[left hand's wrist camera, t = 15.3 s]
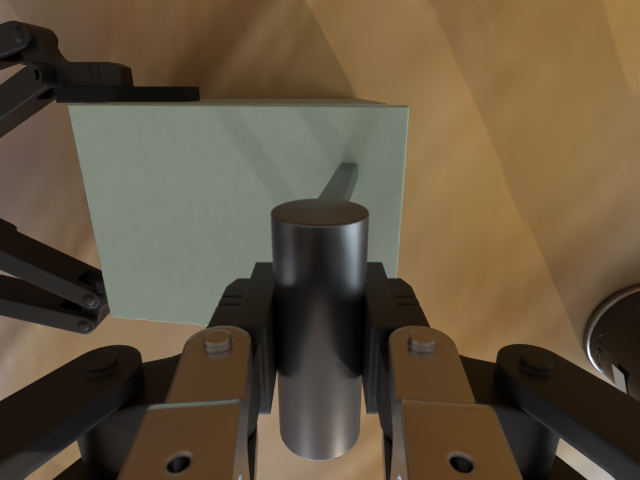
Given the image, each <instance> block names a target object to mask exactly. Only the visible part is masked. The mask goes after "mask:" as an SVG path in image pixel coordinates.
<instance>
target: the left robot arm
mask: <svg viewBox="0 0 640 480" xmlns="http://www.w3.org/2000/svg"><path fill="white" fill-rule="evenodd" d="M583 347H584V352H585V354H586V356H587V358H588V360H589V361H590V362H591V364H592V365H593V366H594V367H596V368H597V369H598V370H599V371H600V372H601V373H603V374H604V375H605V376H606V377H608V378H609V379H610V380H611V381H612V382H613V383H614V384H615V385H616V387H614V386H612V385H610V384H609V383H607V382H605V381H603V380H602V379H600V378H598V377H596V376H594V375H593V374H591V373H589V372H587V371H586V370H584V369H582V368H580V367H579V366H577V365H575V364H573V363H571V362H570V361H568V360H566V359H564V358H563V357H561V356H559V355H557V354H555V353H553V352H551V351H549V350H546V349H544V348H541V347H537V346H533V345H527V344H513V345H508V346H505V347H503V348H501V349H500V350H499V352H498V354H497V359H496V363H493V362H488V361H483V360H478V359H473V358H469V357H465V356H462V355H459V354H458V351H457V348H456V345H455V343H454V342H453V340H452V339H451V338H450V337H449V336H447V335H446V334H444V333H443V332H441V331H439V330H436V329H433V328H430V325H429V323H428V321H427V319H426V317H425V315H424V313H423V310H422V308H421V306H419V302H418V300H417V298H416V295H415V293H414V291H413V289H412V287H411V286H410V285H409V284H407V283H406V282H405V281H403V280H402V279H401V278H387V275H386V272H385V269H384V267H383V264H382V262H367V276H366V294H365V300H364V323H363V347H362V370H361V376H362V383H363V390H364V397H365V404H366V411H367V414H379V419H380V424H381V428H382V430H383V433H382V453H383V474H384V480H587V479H586V478H585V477H583V476H582V475H581V474H580V473H578V472H577V471H576V470H574V469H573V468H572V467H571V466H569V465H568V464H567V463H566V462H564V461H563V460H562V459H560V458H559V457H558V456H557V455H555V454H556V450H557V446H558V443H559V439H560V438H562V439H563V440H564V441H566V442H567V443H568V444H570V445H571V446H572V447H574V448H575V449H576V450H578V451H579V452H581V453H582V454H583V455H585V456H586V457H587V458H589V459H590V460H591V461H593V462H594V463H595V464H597V465H598V466H599V467H601V468H602V469H604V470H605V471H606V472H608V473H609V474H610V475H611V476H612V477H613V478H614V479H615V480H640V284H639V285H635V286H632V287H629V288H626V289H624V290H622V291H620V292H618V293H616V294H615V295H613V296H611V297H610V298H609V299H607V300H606V301H605V302H604V303H603V304H602V305H600V306H599V308H598V309H597V310H596V311H595V312H594V314H593V315H592V316H591V318H590V320H589V322H588V323H587V326H586V328H585V332H584V336H583ZM276 374H277V351H276V329H275V306H274V283H273V262H256V263H255V266H254V269H253V271H252V274H251V277H250V278H237V279H236V280H235V281H233V282H232V283H230V284H229V285H228V286H226V288H225V290H224V293H223V295H222V298H221V299H220V301H219V303H218V306H217V307H216V309H215V311H214V313H213V316H212V318H211V320H210V322H209V324H208V326H207V328H206V329H204V330H201V331H199V332H197V333H196V334H194V335H193V336H191V337H190V338H189V339H188V340H187V342H186V343H185V345H184V348H183V351H182V353H181V354H179V355H176V356H173V357H169V358H165V359H160V360H155V361H150V362H145V363H142V358H141V354H140V352H139V351H138V350H137V349H135V348H134V347H131V346H126V345H111V346H105V347H101V348H98V349H95V350H92V351H89V352H87V353H85V354H83V355H81V356H79V357H77V358H76V359H74V360H72V361H70V362H68V363H67V364H65V365H63V366H61V367H60V368H58V369H56V370H54V371H53V372H51V373H49V374H47V375H46V376H44V377H42V378H40V379H38V380H37V381H35V382H33V383H31V384H30V385H28V386H26V387H24V388H23V389H21V390H19V391H17V392H15V393H14V394H12V395H10V396H8V397H7V398H5V399H3V400H1V401H0V480H24V479H25V478H26V477H27V476H28V475H30V474H31V473H32V472H34V471H35V470H36V469H38V468H39V467H41V466H42V465H43V464H45V463H46V462H47V461H49V460H50V459H51V458H53V457H54V456H55V455H57V454H58V453H59V452H61V451H62V450H64V449H65V448H66V447H68V446H69V445H70V444H72V443H73V442H74V441H76V440H77V442H78V446H79V449H80V453H81V458H80V459H78V460H77V461H76V462H74V463H73V464H72V465H71V466H69V467H68V468H67V469H66V470H64V471H63V472H62V473H60V474H59V475H58V476H57V477H55V478H54V479H53V480H256V474H257V453H258V432H257V419H258V414H270V413H271V407H272V400H273V393H274V387H275V380H276Z"/></svg>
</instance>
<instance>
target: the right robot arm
mask: <svg viewBox="0 0 640 480" xmlns="http://www.w3.org/2000/svg"><path fill="white" fill-rule="evenodd" d="M19 63H21V65H27V66H26V67H24V68H23V69H22V70H20V71H19V72H18V73H16V74H15V75H13V76H12V77H11V78H9V79H8V80H7V81H5V82H4V83H3V84H1V85H0V138H1V137H2V136H4V135H5V134H7V133H8V132H10V131H11V130H12V129H14V128H15V127H17V126H18V125H19V124H21V123H22V122H24V121H25V120H27V119H28V118H29V117H31V116H32V115H34V114H35V113H37V112H38V111H39V110H41V109H42V108H44V107H45V106H46V105H48V104H49V103H51V102H52V101H54V100H55V99H56V102H57V103H105V102H190V101H200V96H199V87H134V86H133V79H132V73H131V68H130V67H127V66H125V65H122V64H118V63H110V62H69V61H67V60H66V59H65V58H64V57H63V56H62V54H61V53H60V51H59V49H58V39H57V36H56V35H55V33H54V32H53V31H51V30H50V29H47V28H44V27H39V26H35V25H31V24H27V23H22V22H18V21H9V22H6V23H3V24H0V70H2V69H5V68H8V67H11V66H14V65H16V64H19ZM0 270H2V271H5V272H7V273H9V274H11V275H14V276H16V277H18V278H20V279H18V278H14V277H9V276H5V275H0V315H2V316H6V317H11V318H15V319H19V320H24V321H28V322H33V323H37V324H41V325H46V326H50V327H55V328H59V329H63V330H68V331H72V332H77V333H81V334H90V333H91V332H93V331H94V329H95V328H96V327H97V326H98V325H99V324H100V323H101V322H102V321H103V319H104V318H105V317H106V316H107V315H108V314H109V313H110V309H109V304H108V299H107V294H106V290H105V285H104V280H103V275H102V271H101V270H99V269H97V268H95V267H92V266H90V265H88V264H86V263H84V262H82V261H80V260H77V259H75V258H73V257H71V256H69V255H67V254H65V253H62V252H60V251H58V250H56V249H54V248H52V247H50V246H47V245H45V244H43V243H41V242H39V241H37V240H35V239H32V238H30V237H28V236H26V235H24V234H22V233H20V232H18V231H17V227H16V226H15V225H13V224H11V223H9V222H7V221H5V220H3V219H1V218H0ZM22 279H23V280H22Z"/></svg>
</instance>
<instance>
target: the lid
mask: <svg viewBox="0 0 640 480" xmlns="http://www.w3.org/2000/svg"><path fill="white" fill-rule="evenodd" d="M68 109H69V114H70V119H71V124H72V129H73V134H74V138H75V143H76V148H77V153H78V158H79V163H80V168H81V173H82V177H83V182H84V187H85V192H86V197H87V202H88V207H89V212H90V216H91V221H92V226H93V231H94V236H95V241H96V246H97V251H98V255H99V260H100V265H101V270H102V275H103V280H104V285H105V290H106V294H107V299H108V304H109V309H110V314H111V317H118V318H129V319H140V320H151V321H162V322H173V323H184V324H195V325H207V326H208V324H209V322H210V320H211V318H212V316H213V313H214V311H215V309H216V307H217V306H218V303H219V301H220V299H221V298H222V295H223V293H224V290H225V288H226V286H228V285H229V284H230V283H232V282H233V281H235V280H236V279H237V278H250V277H251V274H252V271H253V269H254V266H255V263H256V262H273V283H274V306H275V329H276V351H277V374H278V396H279V419H280V434H281V438H282V440H283V442H284V443H285V445H286V446H287V447H288V448H289V449H290V450H291V451H292V452H293V453H295V454H296V455H298V456H300V457H302V458H305V459H309V460H316V461H325V460H331V459H334V458H337V457H340V456H342V455H343V454H345V453H346V452H348V451H349V450H350V449H351V448H352V447H353V446H354V444H355V443H356V441H357V439H358V437H359V432H360V413H361V390H362V376H361V370H362V347H363V323H364V300H365V294H366V276H367V262H382V264H383V267H384V269H385V272H386V275H387V278H397V269H398V255H399V241H400V227H401V213H402V200H403V186H404V172H405V158H406V145H407V131H408V117H409V107H408V106H407V105H230V104H69V105H68Z"/></svg>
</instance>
